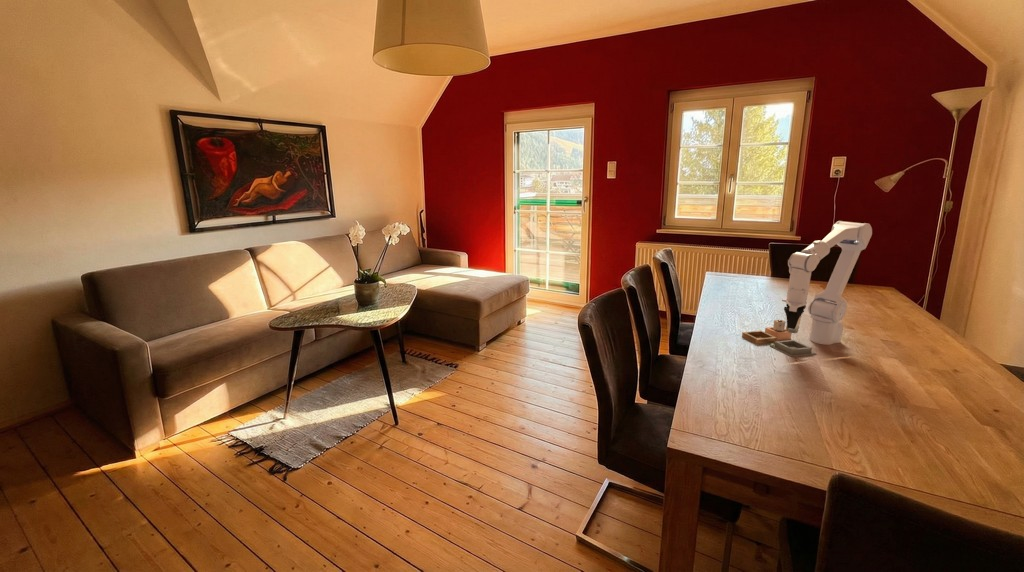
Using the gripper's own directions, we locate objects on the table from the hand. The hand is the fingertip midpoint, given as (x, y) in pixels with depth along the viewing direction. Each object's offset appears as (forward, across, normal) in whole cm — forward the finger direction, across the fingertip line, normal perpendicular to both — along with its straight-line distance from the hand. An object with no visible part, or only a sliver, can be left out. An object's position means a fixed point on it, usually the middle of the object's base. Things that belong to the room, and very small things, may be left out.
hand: (791, 326), depth 149 cm
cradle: (+9, 0, +1) cm, 9 cm away
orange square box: (+9, -11, -5) cm, 15 cm away
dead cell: (+8, -11, -5) cm, 15 cm away
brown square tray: (+9, -4, -10) cm, 14 cm away
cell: (+2, 0, 0) cm, 2 cm away
